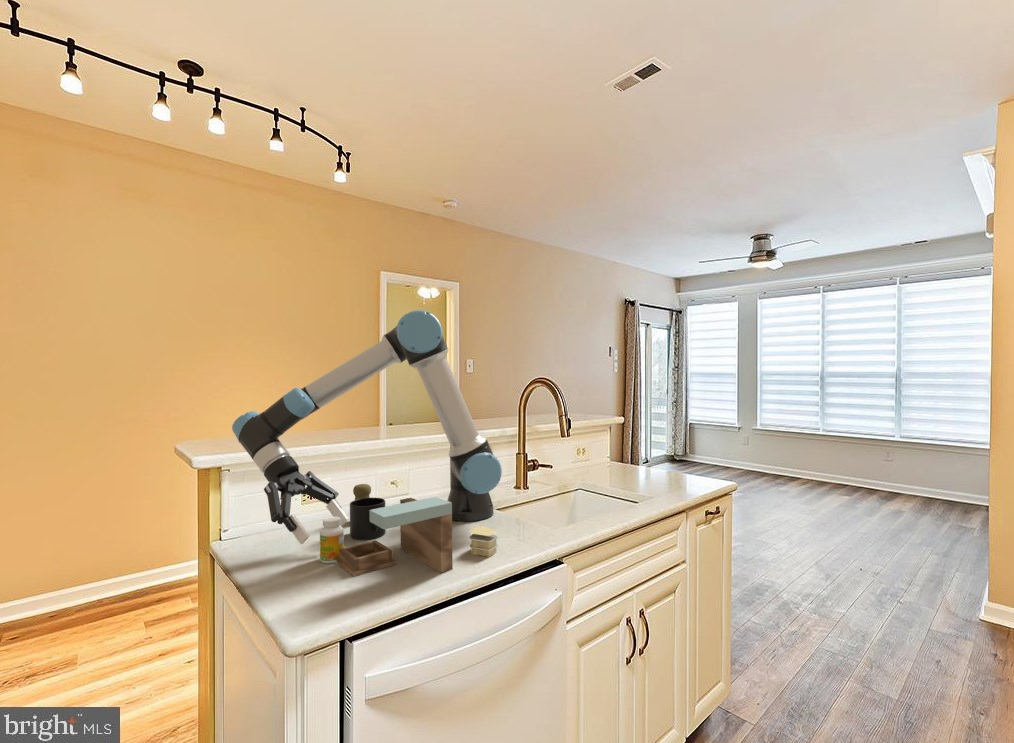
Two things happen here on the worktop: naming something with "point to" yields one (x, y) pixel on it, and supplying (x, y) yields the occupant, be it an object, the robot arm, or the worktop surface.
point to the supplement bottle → (331, 540)
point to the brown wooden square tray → (365, 557)
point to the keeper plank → (410, 512)
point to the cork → (362, 491)
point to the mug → (365, 519)
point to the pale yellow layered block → (483, 541)
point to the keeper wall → (429, 540)
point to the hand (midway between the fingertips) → (326, 531)
